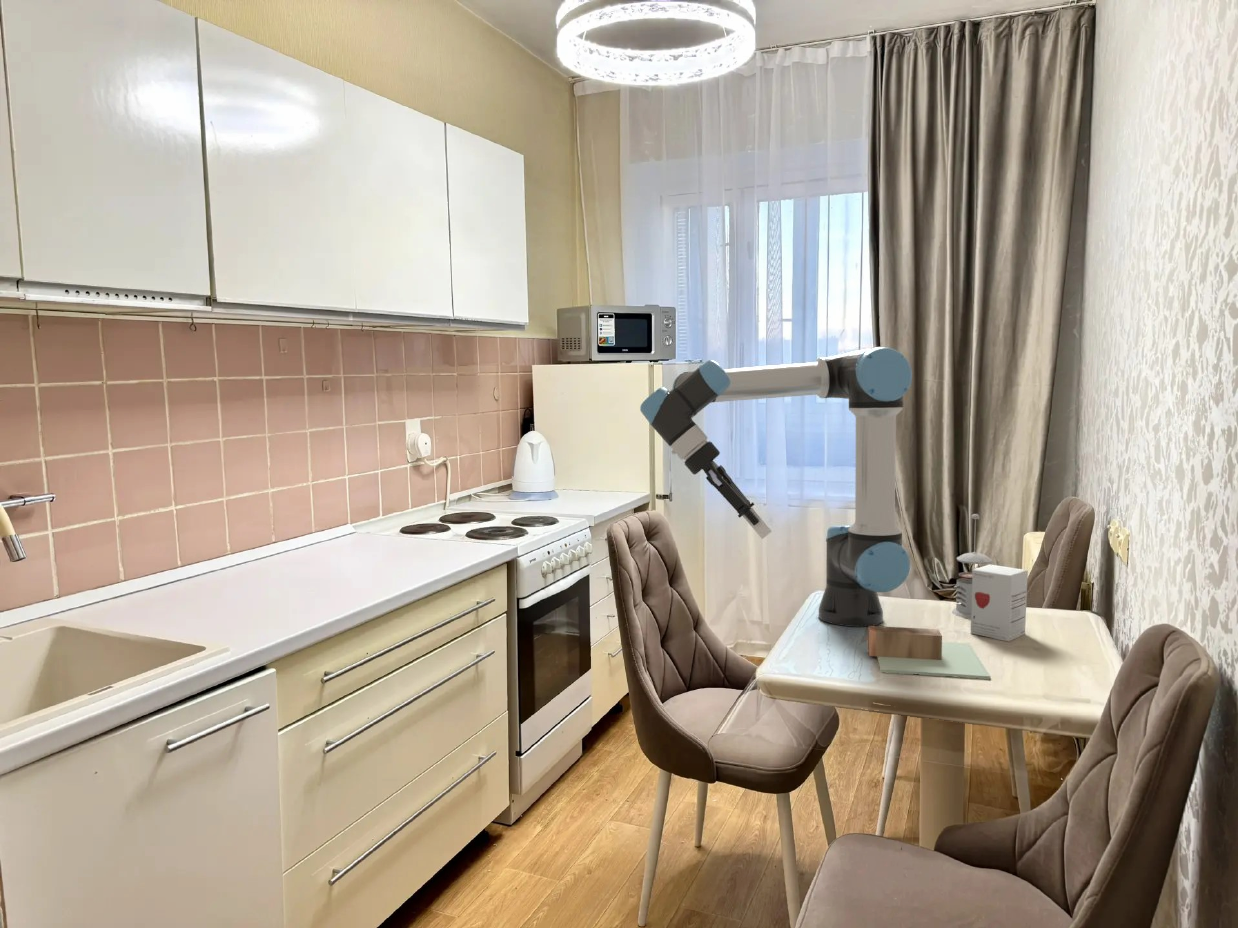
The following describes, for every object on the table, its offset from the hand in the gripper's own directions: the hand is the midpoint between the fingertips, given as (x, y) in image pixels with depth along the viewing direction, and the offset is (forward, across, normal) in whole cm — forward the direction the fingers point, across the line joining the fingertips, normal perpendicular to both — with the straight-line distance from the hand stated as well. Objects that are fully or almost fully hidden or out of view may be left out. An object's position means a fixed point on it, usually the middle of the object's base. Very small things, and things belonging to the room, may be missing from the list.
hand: (767, 534), depth 179 cm
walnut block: (+30, +2, +2) cm, 30 cm away
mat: (+40, +2, +9) cm, 41 cm away
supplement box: (+52, -20, +22) cm, 60 cm away
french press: (+51, -37, +21) cm, 67 cm away
